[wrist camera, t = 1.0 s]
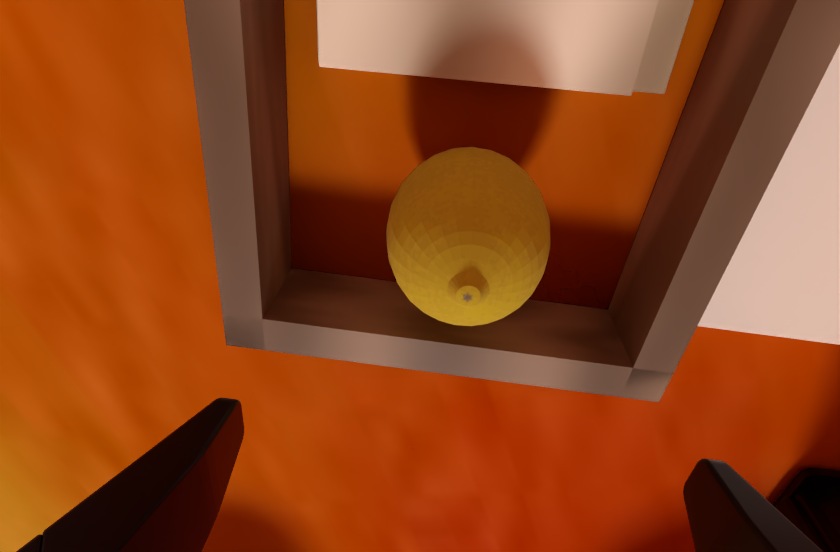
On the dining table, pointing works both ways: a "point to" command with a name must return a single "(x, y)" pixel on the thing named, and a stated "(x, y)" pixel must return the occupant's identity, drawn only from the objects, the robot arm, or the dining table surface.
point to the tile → (792, 238)
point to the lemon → (468, 236)
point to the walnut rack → (535, 320)
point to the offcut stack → (509, 41)
